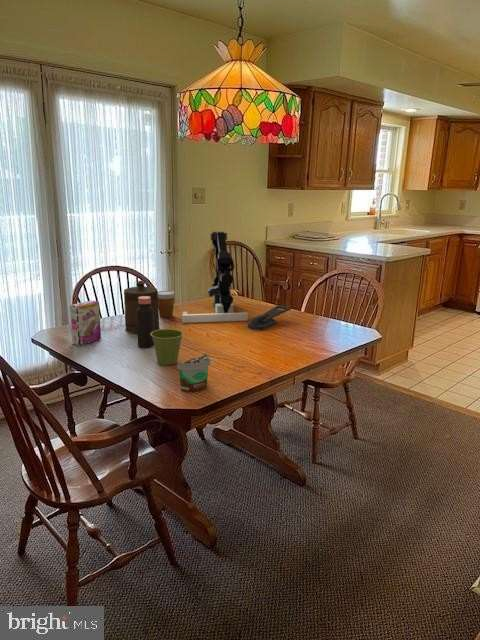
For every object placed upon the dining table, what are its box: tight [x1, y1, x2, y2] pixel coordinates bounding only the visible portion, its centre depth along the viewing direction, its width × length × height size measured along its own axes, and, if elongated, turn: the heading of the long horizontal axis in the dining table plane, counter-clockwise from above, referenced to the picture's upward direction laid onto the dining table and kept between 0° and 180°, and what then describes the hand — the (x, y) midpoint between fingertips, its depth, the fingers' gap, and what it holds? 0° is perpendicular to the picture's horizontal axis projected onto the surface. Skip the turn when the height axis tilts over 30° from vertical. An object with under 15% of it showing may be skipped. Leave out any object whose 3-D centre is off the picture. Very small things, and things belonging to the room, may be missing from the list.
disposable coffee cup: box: [158, 290, 176, 319], centre depth 236 cm, size 10×10×12 cm
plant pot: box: [150, 328, 184, 366], centre depth 176 cm, size 12×12×11 cm
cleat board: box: [182, 311, 249, 324], centre depth 234 cm, size 9×31×4 cm, turn 100°
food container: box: [176, 352, 212, 393], centre depth 154 cm, size 12×6×10 cm, turn 138°
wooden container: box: [123, 280, 160, 335], centre depth 213 cm, size 15×15×22 cm
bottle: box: [136, 296, 155, 349], centre depth 192 cm, size 7×7×20 cm
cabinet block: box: [214, 303, 234, 313], centre depth 242 cm, size 6×8×6 cm
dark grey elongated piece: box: [247, 304, 291, 332], centre depth 227 cm, size 9×7×25 cm
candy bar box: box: [69, 299, 102, 346], centre depth 196 cm, size 11×5×16 cm, turn 145°
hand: (224, 311), depth 243 cm, fingers open, 9 cm apart
